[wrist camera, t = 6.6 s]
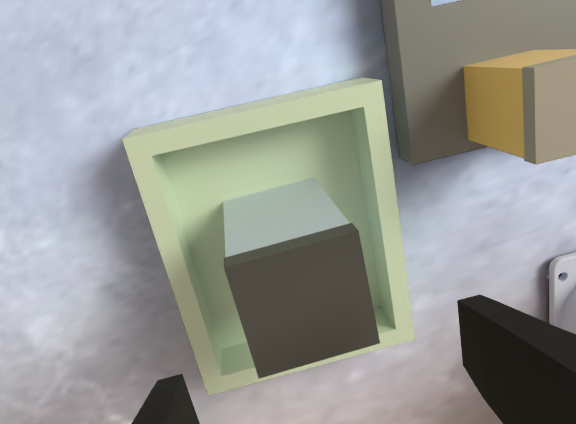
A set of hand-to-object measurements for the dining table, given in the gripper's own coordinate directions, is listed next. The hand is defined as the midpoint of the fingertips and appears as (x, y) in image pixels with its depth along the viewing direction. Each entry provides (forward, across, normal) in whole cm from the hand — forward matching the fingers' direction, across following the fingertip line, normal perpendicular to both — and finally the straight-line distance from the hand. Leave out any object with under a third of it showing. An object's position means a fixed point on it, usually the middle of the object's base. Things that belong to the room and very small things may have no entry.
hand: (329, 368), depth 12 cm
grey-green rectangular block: (+9, 0, 0) cm, 9 cm away
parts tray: (+10, 0, 0) cm, 10 cm away
